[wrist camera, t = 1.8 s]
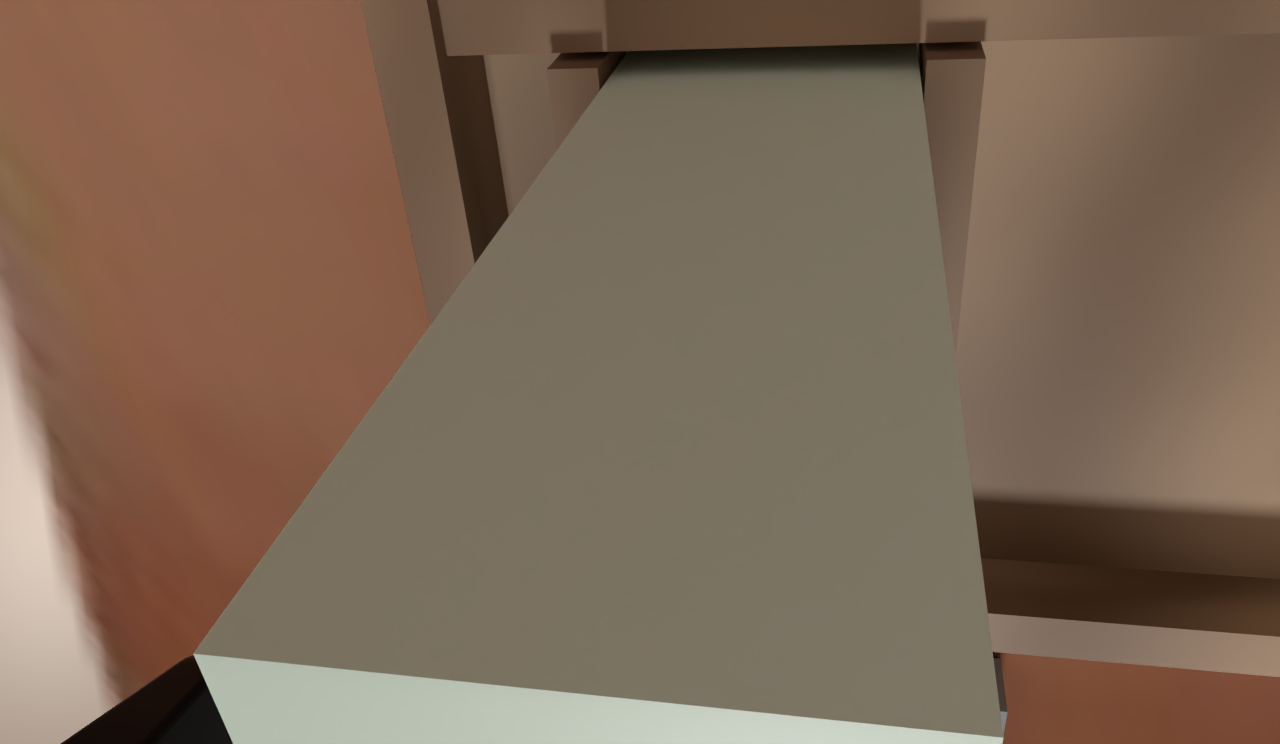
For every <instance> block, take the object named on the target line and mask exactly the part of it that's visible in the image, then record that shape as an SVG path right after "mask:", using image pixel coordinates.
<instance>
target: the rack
mask: <svg viewBox="0 0 1280 744" xmlns="http://www.w3.org/2000/svg"><path fill="white" fill-rule="evenodd" d="M361 4H362V9H363V14H364V18H365V23H366V28H367V32H368V37H369V42H370V46H371V51H372V56H373V60H374V65H375V70H376V74H377V79H378V84H379V88H380V93H381V97H382V102H383V107H384V111H385V116H386V121H387V125H388V130H389V135H390V139H391V144H392V149H393V153H394V158H395V163H396V167H397V172H398V177H399V181H400V186H401V190H402V195H403V200H404V204H405V209H406V214H407V218H408V223H409V228H410V232H411V237H412V242H413V246H414V251H415V256H416V260H417V265H418V270H419V274H420V279H421V284H422V288H423V293H424V297H425V302H426V307H427V311H428V316H429V321H430V325H431V324H432V322H433V321H434V319H435V318H436V317H437V315H438V314H439V312H440V311H441V310H442V308H443V307H444V306H445V304H446V303H447V301H448V300H449V299H450V297H451V296H452V294H453V293H454V292H455V290H456V289H457V288H458V286H459V285H460V283H461V282H462V281H463V279H464V278H465V276H466V275H467V274H468V272H469V271H470V270H471V268H472V267H473V265H474V264H475V263H476V261H477V260H478V258H479V257H480V256H481V254H482V253H483V252H484V250H485V249H486V247H487V246H488V245H489V243H490V242H491V240H492V239H493V238H494V236H495V235H496V234H497V232H498V231H499V229H500V228H501V227H502V225H503V224H504V222H505V221H506V220H507V218H508V217H509V216H510V214H511V213H512V211H513V210H514V209H515V207H516V206H517V204H518V203H519V202H520V200H521V199H522V198H523V196H524V195H525V193H526V192H527V191H528V189H529V188H530V186H531V185H532V184H533V182H534V181H535V180H536V178H537V177H538V175H539V174H540V173H541V171H542V170H543V168H544V167H545V166H546V164H547V163H548V162H549V160H550V159H551V157H552V156H553V155H554V153H555V152H556V150H557V149H558V148H559V146H560V145H561V144H562V142H563V141H564V139H565V138H566V137H567V135H568V134H569V132H570V131H571V130H572V128H573V127H574V126H575V124H576V123H577V121H578V120H579V119H580V117H581V116H582V114H583V113H584V112H585V110H586V109H587V108H588V106H589V105H590V103H591V102H592V101H593V99H594V98H595V96H596V95H597V94H598V92H599V91H600V90H601V88H602V87H603V85H604V84H605V83H606V81H607V80H608V78H609V77H610V76H611V74H612V73H613V72H614V70H615V69H616V67H617V66H618V65H619V63H620V62H621V60H622V59H623V58H624V56H625V55H626V54H627V52H628V51H649V50H686V49H722V48H759V47H795V46H832V45H868V44H905V43H916V45H917V53H918V61H919V69H920V77H921V85H922V93H923V101H924V109H925V117H926V125H927V133H928V141H929V149H930V157H931V165H932V173H933V181H934V189H935V197H936V205H937V213H938V221H939V229H940V237H941V245H942V253H943V261H944V269H945V277H946V285H947V293H948V300H949V308H950V316H951V324H952V332H953V340H954V348H955V356H956V364H957V372H958V380H959V388H960V396H961V404H962V412H963V420H964V428H965V436H966V444H967V452H968V460H969V468H970V476H971V484H972V492H973V500H974V508H975V516H976V524H977V532H978V540H979V548H980V556H981V564H982V571H983V579H984V587H985V595H986V603H987V611H988V619H989V627H990V635H991V643H992V651H993V652H1000V653H1012V654H1023V655H1034V656H1046V657H1057V658H1068V659H1080V660H1091V661H1103V662H1114V663H1125V664H1137V665H1148V666H1160V667H1171V668H1182V669H1194V670H1205V671H1217V672H1228V673H1239V674H1251V675H1262V676H1274V677H1280V0H361Z"/></svg>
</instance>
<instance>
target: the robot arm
mask: <svg viewBox="0 0 1280 744" xmlns="http://www.w3.org/2000/svg"><path fill="white" fill-rule="evenodd" d="M61 744H233V742H232V740H231V738H230V735H229V733H228V731H227V729H226V726H225V724H224V722H223V720H222V717H221V715H220V713H219V711H218V708H217V706H216V704H215V702H214V699H213V697H212V695H211V693H210V691H209V688H208V686H207V684H206V682H205V679H204V677H203V675H202V673H201V670H200V668H199V666H198V664H197V661H196V659H195V657H194V655H193V656H190V657H187V658H185V659H183V660H182V661H180V662H179V663H177V664H176V665H174V666H173V667H171V668H170V669H168V670H167V671H165V672H164V673H163V674H161V675H160V676H158V677H157V678H155V679H154V680H152V681H151V682H149V683H148V684H147V685H145V686H144V687H142V688H141V689H139V690H138V691H136V692H135V693H134V694H132V695H131V696H129V697H128V698H126V699H125V700H123V701H122V702H120V703H119V704H118V705H116V706H115V707H113V708H112V709H110V710H109V711H107V712H106V713H104V714H103V715H102V716H100V717H99V718H97V719H96V720H94V721H93V722H91V723H90V724H89V725H87V726H86V727H84V728H83V729H81V730H80V731H78V732H77V733H75V734H74V735H73V736H71V737H70V738H68V739H67V740H65V741H64V742H62V743H61Z"/></svg>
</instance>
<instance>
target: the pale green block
mask: <svg viewBox="0 0 1280 744" xmlns="http://www.w3.org/2000/svg"><path fill="white" fill-rule="evenodd" d="M193 655H194V657H195V659H196V661H197V664H198V666H199V668H200V670H201V673H202V675H203V677H204V679H205V682H206V684H207V686H208V688H209V691H210V693H211V695H212V697H213V699H214V702H215V704H216V706H217V708H218V711H219V713H220V715H221V717H222V720H223V722H224V724H225V726H226V729H227V731H228V733H229V735H230V738H231V740H232V742H233V744H1002V743H1003V731H1002V723H1001V715H1000V707H999V699H998V691H997V683H996V675H995V667H994V659H993V651H992V643H991V635H990V627H989V619H988V611H987V603H986V595H985V587H984V579H983V571H982V564H981V556H980V548H979V540H978V532H977V524H976V516H975V508H974V500H973V492H972V484H971V476H970V468H969V460H968V452H967V444H966V436H965V428H964V420H963V412H962V404H961V396H960V388H959V380H958V372H957V364H956V356H955V348H954V340H953V332H952V324H951V316H950V308H949V300H948V293H947V285H946V277H945V269H944V261H943V253H942V245H941V237H940V229H939V221H938V213H937V205H936V197H935V189H934V181H933V173H932V165H931V157H930V149H929V141H928V133H927V125H926V117H925V109H924V101H923V93H922V85H921V77H920V69H919V61H918V53H917V45H916V43H905V44H868V45H832V46H795V47H759V48H722V49H686V50H649V51H628V52H627V54H626V55H625V56H624V58H623V59H622V60H621V62H620V63H619V65H618V66H617V67H616V69H615V70H614V72H613V73H612V74H611V76H610V77H609V78H608V80H607V81H606V83H605V84H604V85H603V87H602V88H601V90H600V91H599V92H598V94H597V95H596V96H595V98H594V99H593V101H592V102H591V103H590V105H589V106H588V108H587V109H586V110H585V112H584V113H583V114H582V116H581V117H580V119H579V120H578V121H577V123H576V124H575V126H574V127H573V128H572V130H571V131H570V132H569V134H568V135H567V137H566V138H565V139H564V141H563V142H562V144H561V145H560V146H559V148H558V149H557V150H556V152H555V153H554V155H553V156H552V157H551V159H550V160H549V162H548V163H547V164H546V166H545V167H544V168H543V170H542V171H541V173H540V174H539V175H538V177H537V178H536V180H535V181H534V182H533V184H532V185H531V186H530V188H529V189H528V191H527V192H526V193H525V195H524V196H523V198H522V199H521V200H520V202H519V203H518V204H517V206H516V207H515V209H514V210H513V211H512V213H511V214H510V216H509V217H508V218H507V220H506V221H505V222H504V224H503V225H502V227H501V228H500V229H499V231H498V232H497V234H496V235H495V236H494V238H493V239H492V240H491V242H490V243H489V245H488V246H487V247H486V249H485V250H484V252H483V253H482V254H481V256H480V257H479V258H478V260H477V261H476V263H475V264H474V265H473V267H472V268H471V270H470V271H469V272H468V274H467V275H466V276H465V278H464V279H463V281H462V282H461V283H460V285H459V286H458V288H457V289H456V290H455V292H454V293H453V294H452V296H451V297H450V299H449V300H448V301H447V303H446V304H445V306H444V307H443V308H442V310H441V311H440V312H439V314H438V315H437V317H436V318H435V319H434V321H433V322H432V324H431V325H430V326H429V328H428V329H427V330H426V332H425V333H424V335H423V336H422V337H421V339H420V340H419V342H418V343H417V344H416V346H415V347H414V348H413V350H412V351H411V353H410V354H409V355H408V357H407V358H406V360H405V361H404V362H403V364H402V365H401V366H400V368H399V369H398V371H397V372H396V373H395V375H394V376H393V378H392V379H391V380H390V382H389V383H388V384H387V386H386V387H385V389H384V390H383V391H382V393H381V394H380V396H379V397H378V398H377V400H376V401H375V402H374V404H373V405H372V407H371V408H370V409H369V411H368V412H367V414H366V415H365V416H364V418H363V419H362V420H361V422H360V423H359V425H358V426H357V427H356V429H355V430H354V432H353V433H352V434H351V436H350V437H349V438H348V440H347V441H346V443H345V444H344V445H343V447H342V448H341V450H340V451H339V452H338V454H337V455H336V456H335V458H334V459H333V461H332V462H331V463H330V465H329V466H328V468H327V469H326V470H325V472H324V473H323V474H322V476H321V477H320V479H319V480H318V481H317V483H316V484H315V486H314V487H313V488H312V490H311V491H310V492H309V494H308V495H307V497H306V498H305V499H304V501H303V502H302V504H301V505H300V506H299V508H298V509H297V510H296V512H295V513H294V515H293V516H292V517H291V519H290V520H289V522H288V523H287V524H286V526H285V527H284V528H283V530H282V531H281V533H280V534H279V535H278V537H277V538H276V540H275V541H274V542H273V544H272V545H271V546H270V548H269V549H268V551H267V552H266V553H265V555H264V556H263V558H262V559H261V560H260V562H259V563H258V564H257V566H256V567H255V569H254V570H253V571H252V573H251V574H250V576H249V577H248V578H247V580H246V581H245V582H244V584H243V585H242V587H241V588H240V589H239V591H238V592H237V594H236V595H235V596H234V598H233V599H232V600H231V602H230V603H229V605H228V606H227V607H226V609H225V610H224V612H223V613H222V614H221V616H220V617H219V618H218V620H217V621H216V623H215V624H214V625H213V627H212V628H211V630H210V631H209V632H208V634H207V635H206V636H205V638H204V639H203V641H202V642H201V643H200V645H199V646H198V648H197V649H196V650H195V652H194V653H193Z"/></svg>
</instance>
